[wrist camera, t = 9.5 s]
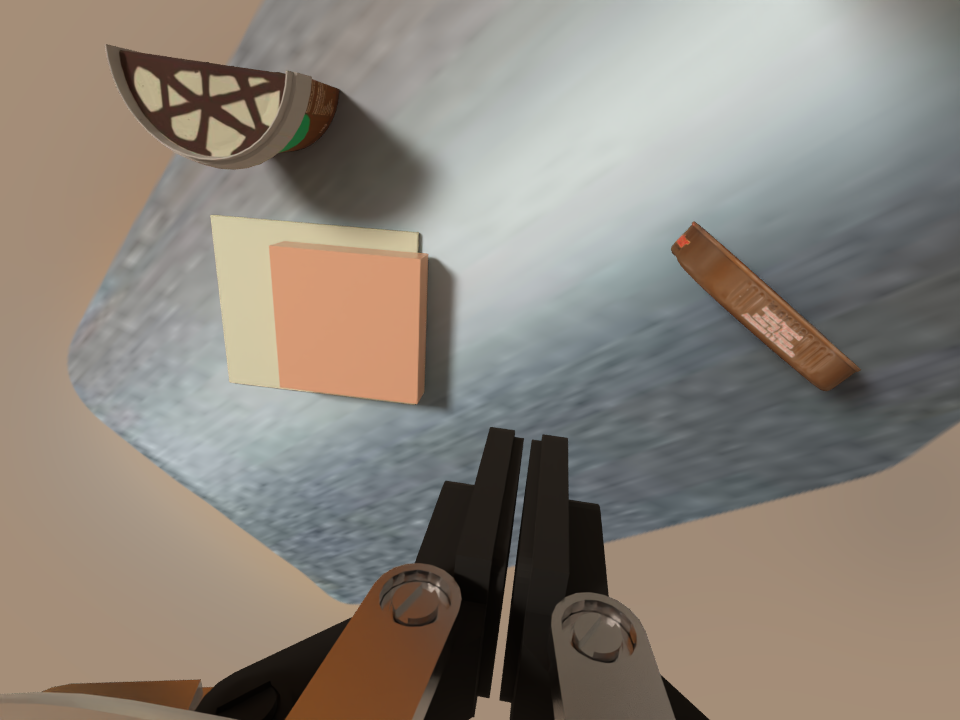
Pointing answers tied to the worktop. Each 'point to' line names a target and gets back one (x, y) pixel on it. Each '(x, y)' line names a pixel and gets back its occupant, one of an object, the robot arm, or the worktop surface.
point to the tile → (350, 320)
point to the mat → (251, 284)
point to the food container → (221, 107)
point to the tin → (761, 309)
